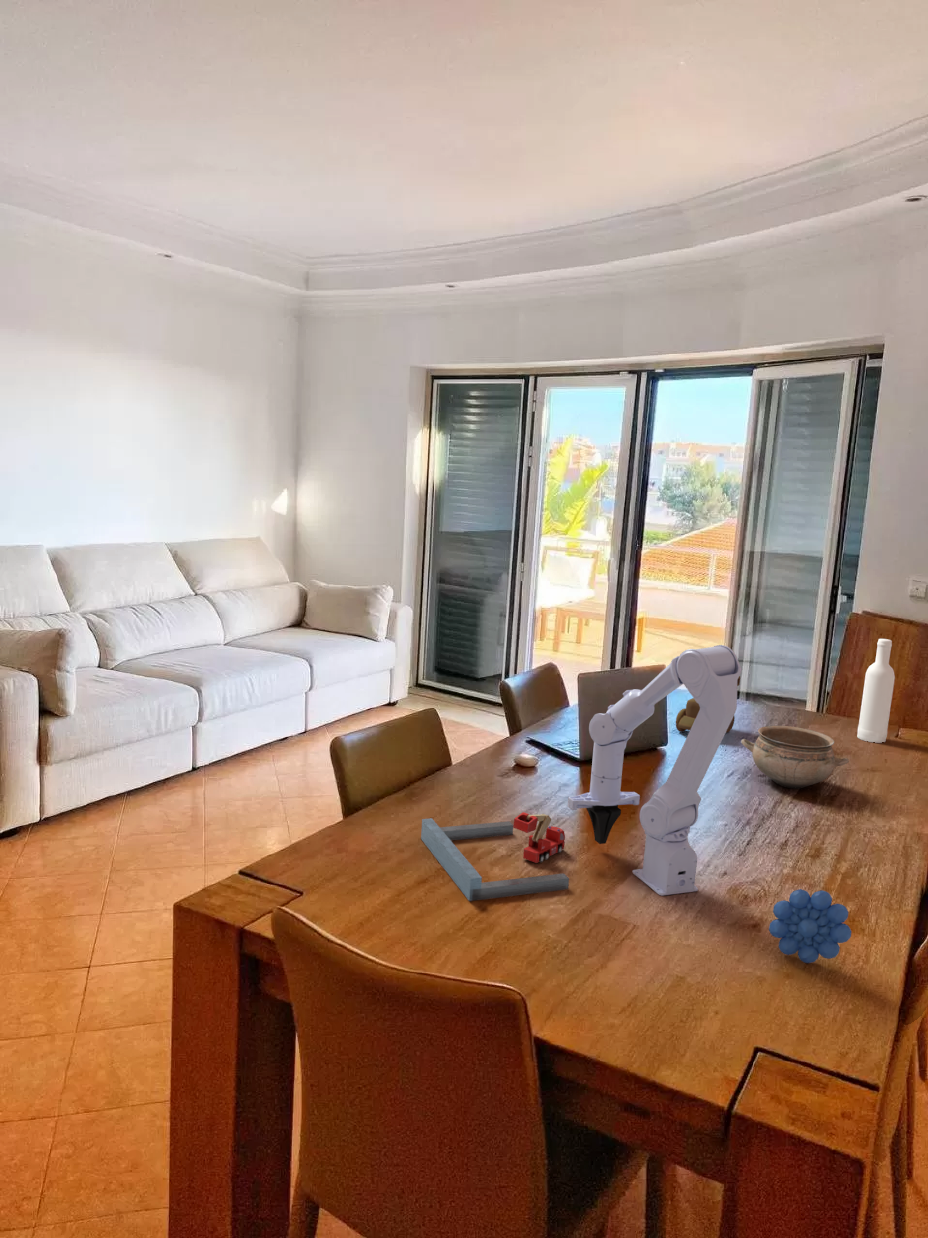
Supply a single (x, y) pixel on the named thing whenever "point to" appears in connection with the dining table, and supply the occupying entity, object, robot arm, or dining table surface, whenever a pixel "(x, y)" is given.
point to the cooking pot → (793, 755)
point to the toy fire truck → (540, 836)
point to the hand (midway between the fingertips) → (600, 841)
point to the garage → (465, 872)
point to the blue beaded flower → (810, 925)
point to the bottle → (877, 696)
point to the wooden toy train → (693, 715)
